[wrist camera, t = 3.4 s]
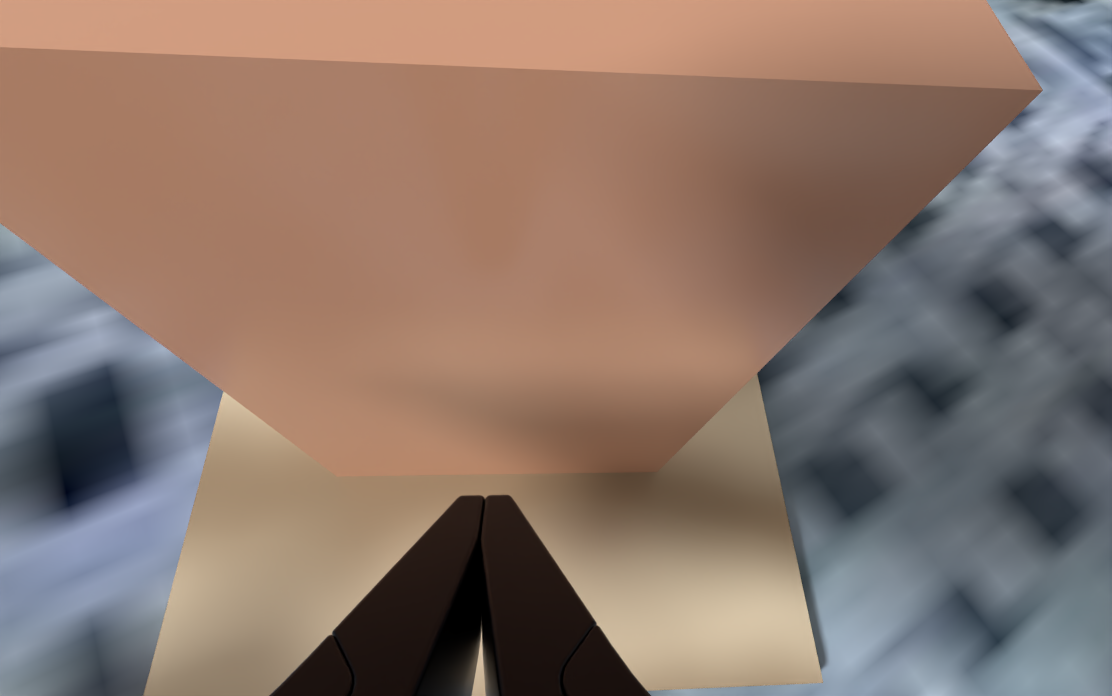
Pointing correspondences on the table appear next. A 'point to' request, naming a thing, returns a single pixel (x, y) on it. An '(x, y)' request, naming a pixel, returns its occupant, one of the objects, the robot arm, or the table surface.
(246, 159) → the tile
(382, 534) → the board
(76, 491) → the table surface
